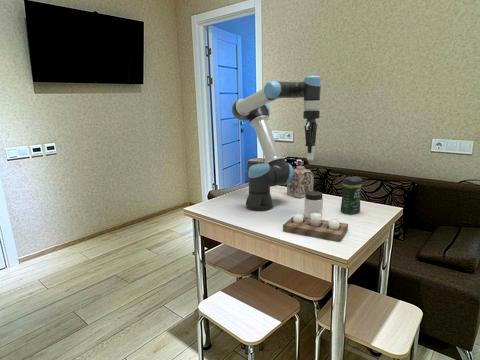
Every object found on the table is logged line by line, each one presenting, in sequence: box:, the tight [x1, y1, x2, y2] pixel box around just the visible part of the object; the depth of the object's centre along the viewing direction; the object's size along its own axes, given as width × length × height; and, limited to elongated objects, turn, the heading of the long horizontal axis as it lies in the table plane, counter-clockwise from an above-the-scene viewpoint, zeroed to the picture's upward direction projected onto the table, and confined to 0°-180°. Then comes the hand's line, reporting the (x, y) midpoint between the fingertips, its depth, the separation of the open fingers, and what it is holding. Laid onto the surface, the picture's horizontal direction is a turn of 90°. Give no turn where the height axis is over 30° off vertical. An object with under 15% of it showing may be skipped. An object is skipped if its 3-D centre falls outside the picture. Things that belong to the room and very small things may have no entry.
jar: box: [303, 190, 324, 218], centre depth 158 cm, size 9×8×12 cm
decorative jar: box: [286, 165, 315, 199], centre depth 195 cm, size 12×12×18 cm
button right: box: [328, 218, 341, 231], centre depth 136 cm, size 4×4×5 cm
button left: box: [292, 213, 304, 224], centre depth 144 cm, size 4×4×5 cm
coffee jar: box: [340, 175, 363, 215], centre depth 162 cm, size 10×8×19 cm
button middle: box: [310, 213, 322, 227], centre depth 139 cm, size 4×4×5 cm
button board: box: [282, 216, 349, 243], centre depth 140 cm, size 25×14×3 cm, turn 60°
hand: (310, 159), depth 155 cm, fingers closed
